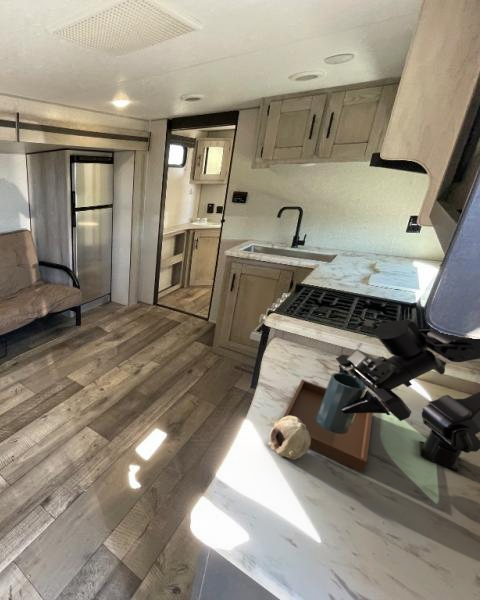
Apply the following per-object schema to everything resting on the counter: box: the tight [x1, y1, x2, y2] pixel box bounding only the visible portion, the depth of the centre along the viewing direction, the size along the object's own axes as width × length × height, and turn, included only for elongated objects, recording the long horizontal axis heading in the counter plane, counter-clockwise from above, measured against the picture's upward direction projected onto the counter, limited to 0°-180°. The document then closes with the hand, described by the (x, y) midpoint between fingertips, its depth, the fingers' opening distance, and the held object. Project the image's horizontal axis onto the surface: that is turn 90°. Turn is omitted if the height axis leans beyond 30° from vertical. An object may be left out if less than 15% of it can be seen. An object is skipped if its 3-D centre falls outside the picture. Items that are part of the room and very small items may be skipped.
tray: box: [283, 379, 374, 473], centre depth 89 cm, size 28×18×3 cm, turn 137°
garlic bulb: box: [268, 416, 311, 460], centre depth 78 cm, size 9×8×10 cm
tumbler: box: [316, 372, 368, 434], centre depth 78 cm, size 7×7×13 cm
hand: (334, 402), depth 78 cm, fingers closed on tumbler, 7 cm apart
